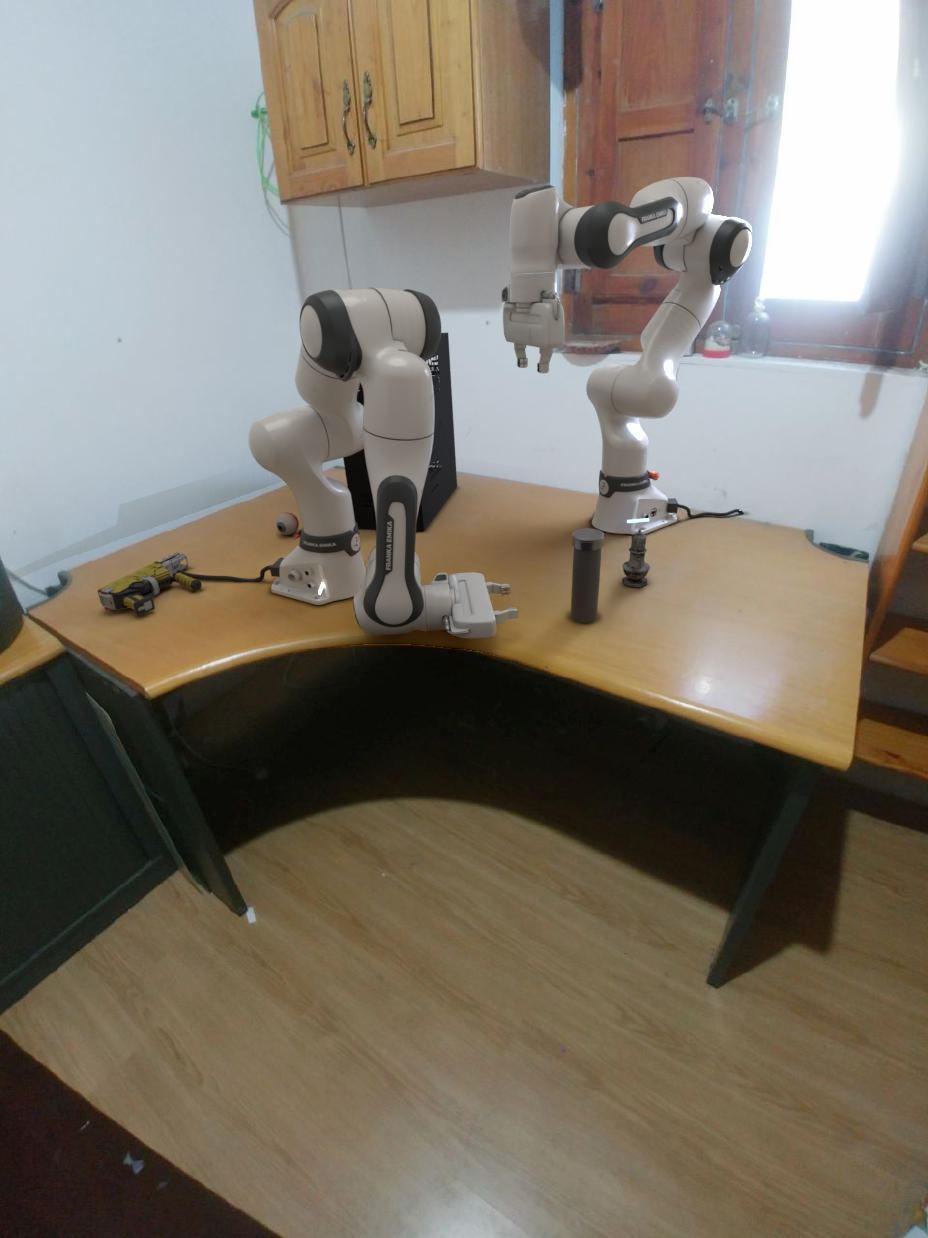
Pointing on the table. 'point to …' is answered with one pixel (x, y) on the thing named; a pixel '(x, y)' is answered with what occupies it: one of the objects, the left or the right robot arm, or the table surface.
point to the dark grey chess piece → (636, 562)
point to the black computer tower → (443, 454)
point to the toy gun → (146, 585)
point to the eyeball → (287, 523)
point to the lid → (588, 539)
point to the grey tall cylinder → (585, 585)
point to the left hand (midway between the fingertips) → (513, 600)
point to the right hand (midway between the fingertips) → (532, 369)
